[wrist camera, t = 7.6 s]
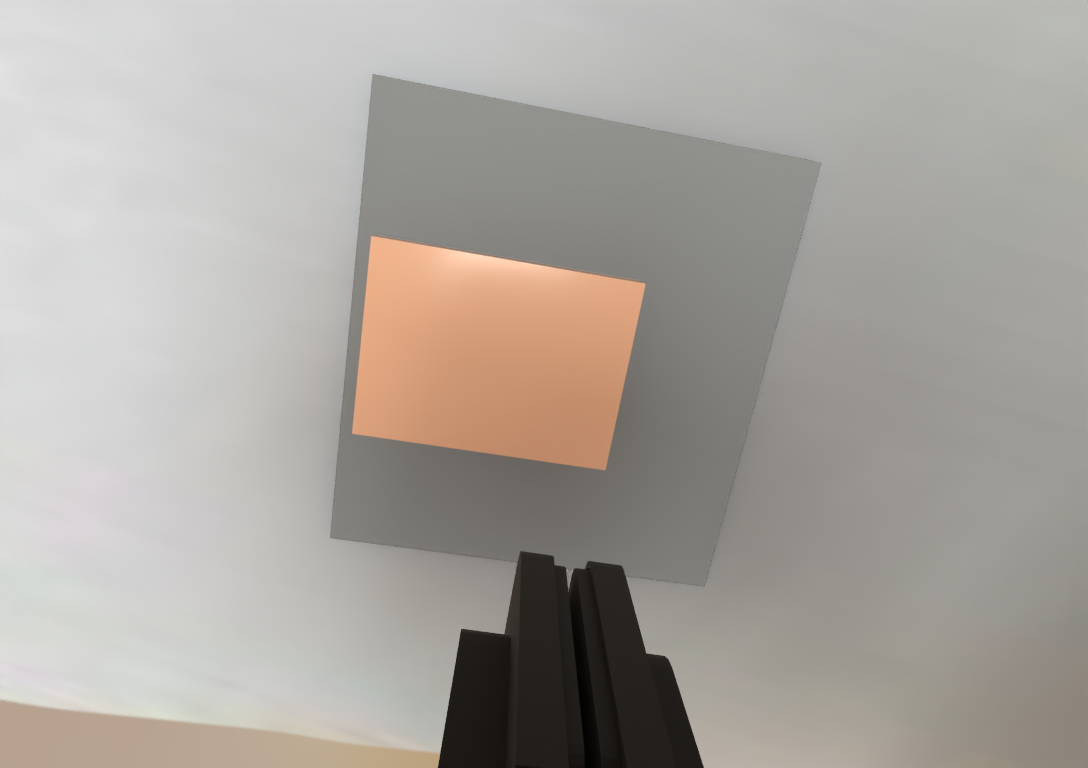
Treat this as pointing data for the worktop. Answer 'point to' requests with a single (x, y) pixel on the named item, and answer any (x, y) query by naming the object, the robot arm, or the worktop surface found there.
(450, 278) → the tile
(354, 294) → the slate mat
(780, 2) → the worktop surface
